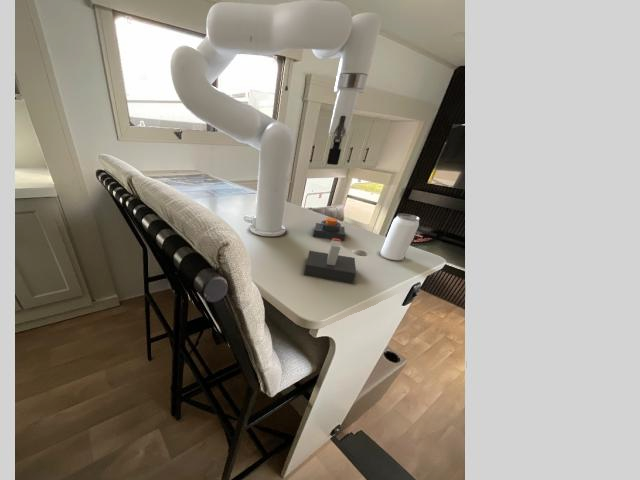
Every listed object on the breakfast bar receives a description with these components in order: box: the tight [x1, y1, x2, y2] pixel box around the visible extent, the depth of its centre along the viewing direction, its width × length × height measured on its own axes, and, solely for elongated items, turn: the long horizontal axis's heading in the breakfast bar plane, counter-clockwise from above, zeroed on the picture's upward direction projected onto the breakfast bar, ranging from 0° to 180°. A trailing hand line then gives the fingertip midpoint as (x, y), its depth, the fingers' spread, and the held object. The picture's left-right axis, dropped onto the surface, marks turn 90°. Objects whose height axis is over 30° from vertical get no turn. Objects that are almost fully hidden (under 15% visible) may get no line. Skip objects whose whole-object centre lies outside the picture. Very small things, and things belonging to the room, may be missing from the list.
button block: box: [312, 219, 346, 242], centre depth 88 cm, size 10×8×4 cm
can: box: [380, 213, 421, 262], centre depth 72 cm, size 6×6×12 cm
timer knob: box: [327, 238, 341, 266], centre depth 64 cm, size 5×2×5 cm, turn 162°
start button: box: [325, 217, 338, 226], centre depth 86 cm, size 4×4×2 cm
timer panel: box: [303, 250, 357, 285], centre depth 66 cm, size 12×9×3 cm
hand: (332, 164), depth 76 cm, fingers closed
